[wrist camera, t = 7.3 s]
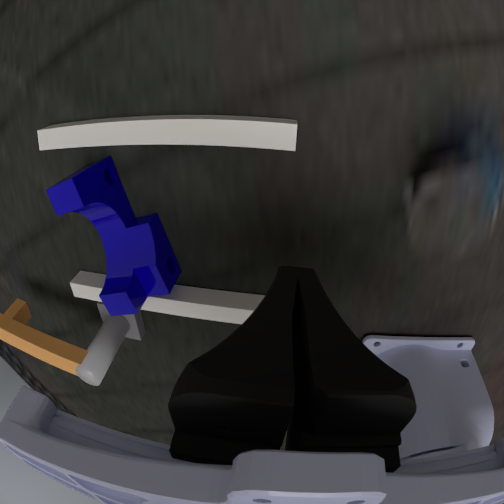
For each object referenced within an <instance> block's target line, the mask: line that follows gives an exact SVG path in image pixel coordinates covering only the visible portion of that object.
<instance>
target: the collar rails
mask: <svg viewBox="0 0 504 504" xmlns="http://www.w3.org/2000/svg"><path fill="white" fill-rule="evenodd" d="M37 132H38V141H39V149H40V150H49V149H61V148H74V147H89V146H110V145H151V144H172V145H214V146H235V147H252V148H265V149H278V150H289V151H295V148H296V136H297V120H292V119H281V118H268V117H252V116H229V115H157V116H135V117H120V118H107V119H96V120H86V121H77V122H69V123H62V124H54V125H51V126H48V127H45V128H43V129H40V130H37ZM105 279H106V275H105V274H99V273H93V272H87V271H80V272H79V273H78V274H77V275H76V276H75V277H74V278H73V280H72V281H71V282H70V285H71V288H72V291H73V294H74V296H75V297H80V298H84V299H89V300H94V301H98V302H97V306H98V309H99V312H100V315H101V318H102V321H103V323H104V322H105V320H106V319H107V317H108V316H109V315H110V314H109V312H108V310H107V309H106V307H105V306H104V304H103V302H102V300H101V299H100V297H99V294H100V293H101V291H102V289H103V286H104V283H105ZM264 297H265V295H257V294H248V293H239V292H230V291H222V290H214V289H205V288H197V287H190V286H182V285H174V287H173V289H172V291H171V293H170V294H167V295H159V296H151V297H147V299H146V301H145V302H144V304H143V306H142V308H141V309H142V310H148V311H154V312H160V313H166V314H172V315H178V316H185V317H192V318H199V319H206V320H213V321H220V322H228V323H236V324H243V323H244V322H245V321H246V319H247V318H248V317H249V316H250V315H251V314H252V313H253V311H254V310H255V309H256V308H257V306H258V305H259V304H260V302H261V301H262V300H263V298H264ZM141 309H140V311H139V313H138V314H130V315H120V316H122V317H123V318H124V319H125V320H126V321H127V322H128V324H129V331H128V332H127V334H126V336H125V337H127V338H131V339H136V340H142V338H143V336H144V334H145V332H146V330H145V326H144V322H143V318H142V313H141Z"/></svg>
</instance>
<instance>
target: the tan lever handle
mask: <svg viewBox="0 0 504 504" xmlns="http://www.w3.org/2000/svg"><path fill="white" fill-rule="evenodd" d="M30 318H31V314H30V312H29V309H28V306H27V303H26V302H25V301H23V300H20V299H18V298H17V299H16V301H15V302H14V303H13V304H12V305H11V306H10V307H9V309H8V310H7V311H6V312H5V313H4V314H1V313H0V339H1V340H3V341H5V342H7V343H9V344H10V345H12V346H14V347H16V348H18V349H20V350H22V351H24V352H26V353H28V354H30V355H32V356H34V357H36V358H38V359H40V360H43V361H45V362H47V363H49V364H51V365H54V366H56V367H58V368H60V369H63V370H65V371H67V372H70V373H72V374H74V375H77V376H79V377H80V378H81V379H82V380H83V381H85V382H86V383H88V384H91V385H94V386H98V385H100V383H101V381H102V379H103V377H104V375H105V373H106V371H107V369H108V368H109V366H110V364H111V362H112V360H113V358H114V356H115V354H116V353H117V351H118V349H119V347H120V345H121V343H122V342H123V340H124V338H125V336H126V334H127V332H128V331H129V324H128V322H127V321H126V320H125V319H124V318H123V317H122V316H120V315H117V316H111V315H109V316H108V317H107V319H106V320H105V322H104V323H103V325H102V326H101V328H100V330H99V331H98V333H97V334H96V336H95V338H94V339H93V341H92V342H91V344H90V346H89V347H88V349H87V350H84V349H82V348H79V347H76V346H74V345H71V344H69V343H66V342H64V341H61V340H59V339H56V338H54V337H52V336H49V335H47V334H45V333H42V332H40V331H38V330H35V329H33V328H31V327H29V326H26V325H25V324H26V323H27V322H28V321H29V319H30Z"/></svg>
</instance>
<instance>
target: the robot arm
mask: <svg viewBox="0 0 504 504" xmlns="http://www.w3.org/2000/svg"><path fill="white" fill-rule="evenodd" d="M375 342H377V343H375ZM474 344H475V340H474V338H472V337H403V336H379V335H369V336H366V337H365V338H364V339H363V341H362V342H361V341H360V340H359V339H358V338H357V337H356V336H355V335H354V333H353V332H352V331H351V330H350V329H349V327H348V326H347V325H346V324H345V322H344V321H343V319H342V318H341V317H340V315H339V314H338V312H337V311H336V309H335V308H334V306H333V305H332V303H331V301H330V300H329V298H328V296H327V295H326V293H325V291H324V289H323V287H322V285H321V283H320V281H319V279H318V277H317V275H316V273H315V271H314V270H313V269H311V268H301V267H291V266H280V267H279V268H278V272H277V275H276V277H275V280H274V282H273V284H272V285H271V287H270V289H269V290H268V292H267V294H266V295H265V297H264V298H263V300H262V301H261V302H260V304H259V305H258V306H257V308H256V309H255V310H254V311H253V313H252V314H251V315H250V316H249V317H248V318H247V319H246V321H245V322H244V323H243V324H242V325H241V326H240V327H238V328H237V329H236V330H235V331H234V332H233V333H232V334H231V335H230V336H229V337H227V338H226V339H225V340H223V341H222V342H221V343H219V344H218V345H217V346H215V347H214V348H213V349H211V350H210V351H208V352H207V353H205V354H203V355H201V356H200V357H198V358H196V359H195V360H193V361H191V362H189V363H188V364H187V366H186V367H185V369H184V370H183V372H182V373H181V375H180V377H179V379H178V381H177V383H176V384H175V387H174V389H173V392H172V395H171V398H170V401H169V404H168V407H169V413H170V416H171V419H172V422H173V424H174V427H175V432H174V435H173V439H172V442H171V445H166V444H162V443H158V442H154V441H150V440H146V439H143V438H139V437H135V436H132V435H128V434H125V433H122V432H119V431H115V430H112V429H109V428H106V427H103V426H100V425H97V424H94V423H92V422H89V421H86V420H83V419H81V418H78V417H75V416H73V415H70V414H68V413H65V412H63V411H60V410H58V409H56V406H55V405H54V403H53V402H52V401H51V400H50V399H49V398H48V397H47V396H45V395H43V394H42V393H39V392H37V391H35V390H32V389H30V388H28V387H26V386H22V387H21V388H20V390H19V392H18V394H17V395H16V397H15V398H14V400H13V402H12V403H11V405H10V407H9V409H8V410H7V412H6V414H5V416H4V417H3V419H2V421H1V423H0V442H1V443H3V445H5V446H6V447H7V448H8V449H9V450H10V451H12V453H14V454H15V455H16V456H17V457H19V458H20V459H21V460H22V461H23V462H24V463H26V464H27V465H28V466H30V467H32V468H34V469H36V470H37V471H39V472H41V473H43V474H44V475H46V476H48V477H50V478H52V479H54V480H56V481H58V482H60V483H62V484H64V485H66V486H67V487H69V488H71V489H74V490H76V491H78V492H80V493H82V494H84V495H86V496H88V497H91V498H93V499H95V500H98V501H100V502H102V503H104V504H501V503H503V502H504V436H503V437H501V438H500V439H499V440H498V441H497V442H496V443H495V444H494V445H490V446H488V445H489V443H490V441H491V438H492V435H493V429H494V412H493V407H492V403H491V401H490V398H489V395H488V392H487V389H486V387H485V384H484V381H483V379H482V376H481V374H480V371H479V369H478V366H477V364H476V361H475V359H474V356H473V354H472V352H471V349H472V348H473V346H474ZM287 427H288V429H287ZM286 430H287V438H286V447H285V450H280V447H281V446H282V443H283V440H284V437H285V433H286Z"/></svg>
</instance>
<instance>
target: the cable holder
mask: <svg viewBox="0 0 504 504" xmlns="http://www.w3.org/2000/svg"><path fill="white" fill-rule="evenodd" d="M46 191H47V194H48V196H49V198H50V201H51V203H52V205H53V208H54V210H55V212H56V214H57V216H60V215H62V214H65V213H68V212H77V213H80V214H82V215H84V216H85V217H87V218H88V219H89V220H90V221H91V222H92V223H93V225H94V226H95V227H96V229H97V231H98V232H99V234H100V237H101V239H102V241H103V245H104V248H105V253H106V260H107V273H106V279H105V283H104V286H103V289H102V291H101V293H100V294H99V297H100V299H101V300H102V302H103V304H104V306H105V307H106V309H107V310H108V312H109V314H110V315H111V316H117V315H130V314H138V313H139V311H140V309H141V308H142V306H143V304H144V302H145V301H146V299H147V297H151V296H159V295H167V294H170V293H171V291H172V289H173V287H174V285H175V283H176V281H177V279H178V277H179V275H180V273H181V269H180V267H179V264H178V262H177V260H176V257H175V255H174V253H173V250H172V248H171V245H170V243H169V241H168V238H167V236H166V233H165V231H164V228H163V226H162V224H161V221H160V219H159V216H158V214H157V213H154V214H150V215H147V216H143V217H139V218H135V215H134V213H133V210H132V208H131V206H130V203H129V201H128V198H127V196H126V193H125V191H124V188H123V186H122V183H121V181H120V178H119V176H118V173H117V170H116V168H115V165H114V162H113V160H112V157H111V156H108V157H106V158H103V159H101V160H99V161H96V162H94V163H91V164H89V165H87V166H85V167H83V168H81V169H79V170H78V171H76V172H74V173H73V174H71V175H69V176H68V177H66V178H64V179H63V180H61V181H59V182H58V183H56V184H55V185H53V186H51V187H50V188H48V189H47V190H46Z"/></svg>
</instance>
